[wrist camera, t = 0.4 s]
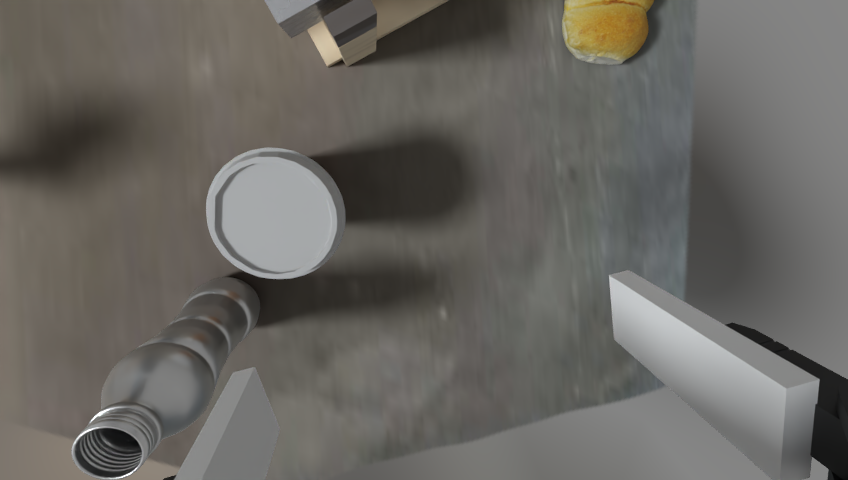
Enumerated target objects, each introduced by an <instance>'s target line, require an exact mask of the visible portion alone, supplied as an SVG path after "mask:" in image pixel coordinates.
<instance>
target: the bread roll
mask: <svg viewBox="0 0 848 480" xmlns="http://www.w3.org/2000/svg"><path fill="white" fill-rule="evenodd" d="M654 1H655V0H565V1H564V2H565V3H564V14H563V18H562V32H563V37H564V40H565V43H566V46H567V48H568V49H569V51H570V52H571V53H572V54H573V55H574V56H575V57H576V58H577V59H579V60H583V61H586V62H590V63H597V64H609V65H614V64H622V63H623V61H625V60H626V59H628V58H630V57H632V56H633V55H634V54H636V53H637V52H638V50H639V49H640V48H641V47H642V45H643V44H644V42H645V40H646V37H647V35H648V20H647V16H646V12H647V11H648V10H649V9H650V7H651V6H652V4H653V2H654Z"/></svg>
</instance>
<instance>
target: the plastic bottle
mask: <svg viewBox="0 0 848 480" xmlns="http://www.w3.org/2000/svg"><path fill="white" fill-rule="evenodd" d="M259 313H260V301H259V298H258V295H257V293H256V292H255V290H254V289H253V288H252V287H251V286H250V285H248V284H247V283H246V282H244V281H242V280H239V279H236V278H231V277H222V278H216V279H213V280H211V281H209V282H207V283H205V284H203V285H201V286H199V287H198V288H196V289H195V290H194V291H193V292H192V294H191V295H190V296H189V298H188V299H187V301H186V302H185V304H184V306H183V308H182V310H181V311H180V313H179V314H178V315H177V317H176V318H175V319H174V320H173V322H172V323H170V324H169V325H168V326H167V327H166V328H165V329H163V330H162V331H161V332H160V333H159V334H157V335H156V336H155V337H153V338H152V339H150V340H149V341H147V342H146V343H144V344H143V345H141V346H139V347H138V348H136V349H135V350H133V351H132V352H131V353H129V354H128V355H127V356H125V357H124V358H123V359H122V360H120V361H119V362H118V363H117V364H116V365H115V366H114V367H113V368H112V370H111V372H110V374H109V376H108V378H107V380H106V382H105V384H104V386H103V389H102V394H101V410H100V411H99V412H98V413H97V414H96V415H95V416H94V417H93V418H92V419H91V421H90V422H89V424H88V426H87V427H86V428H85V429H84V430H83V431H82V432H81V433H80V434H79V436H78V437H77V438H76V440H75V442H74V443H73V446H72V450H71V451H72V458H73V461H74V463H75V464H76V465H77V467H78V468H79V469H80V470H81V471H82V472H84V473H85V474H87V475H89V476H91V477H94V478H98V479H103V480H117V479H122V478H125V477H127V476H129V475H131V474H133V473H134V472H136V471H137V470H138V469H139V468H140V467H141V466H142V465H143V463H144V462H145V461H146V459H147V458H148V456H149V455H150V454H151V453H152V452H153V451H154V450H155V449H156V448H157V446H158V445H159V443H160V442H161V440H162V439H164V438H167V437H169V436H172V435H174V434H177V433H179V432H181V431H183V430H184V429H186V428H187V427H188V426H190V425H191V424H192V423H193V422H194V421H196V420H197V419H198V418H199V417H200V416H201V415H202V414H203V413H204V411H205V410H206V408H207V406H208V404H209V402H210V400H211V398H212V395H213V392H214V389H215V387H216V384H217V381H218V378H219V375H220V372H221V370H222V368H223V366H224V364H225V362H226V360H227V358H228V357H229V355H230V353H231V352H232V351H233V350H234V348H235V347H236V346H237V345H238V344H239V343H240V342H241V341H242V340H243V339H244V338H245V337H246V336H247V335H248V334H249V333H250V332H251V331H252V330H253V329H254V327H255V325H256V324H257V321H258V318H259Z"/></svg>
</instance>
